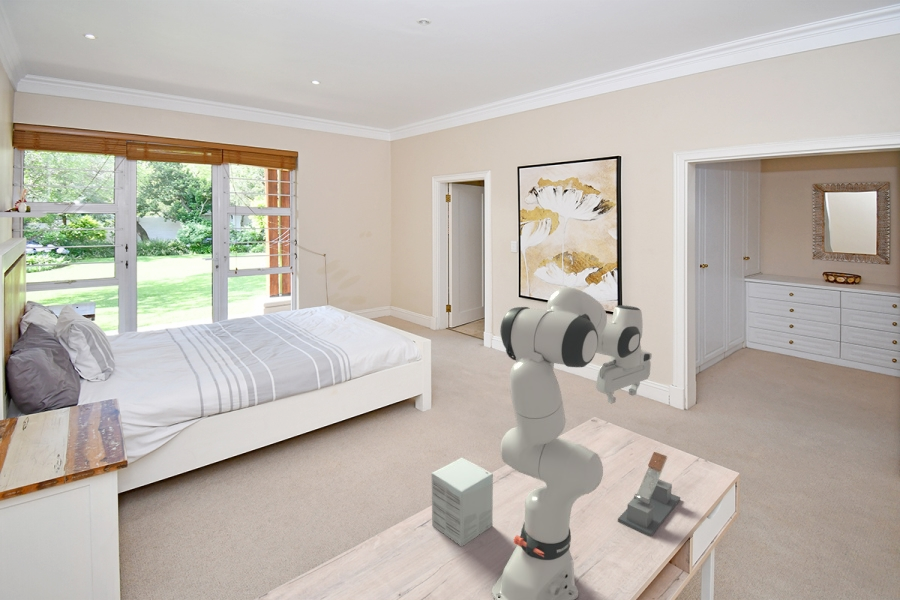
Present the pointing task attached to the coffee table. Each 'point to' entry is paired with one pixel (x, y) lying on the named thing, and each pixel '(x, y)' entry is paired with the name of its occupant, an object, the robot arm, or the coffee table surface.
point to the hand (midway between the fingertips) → (622, 398)
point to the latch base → (657, 516)
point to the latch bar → (651, 478)
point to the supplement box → (462, 500)
